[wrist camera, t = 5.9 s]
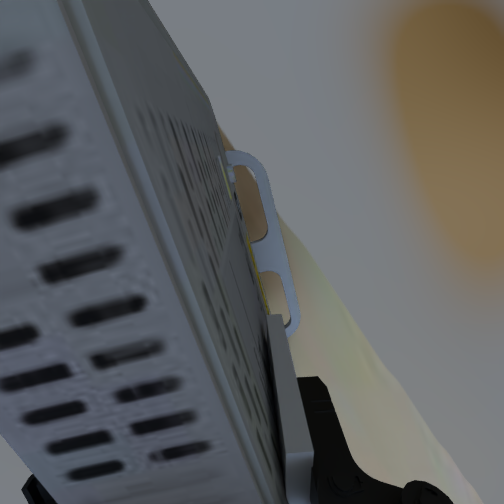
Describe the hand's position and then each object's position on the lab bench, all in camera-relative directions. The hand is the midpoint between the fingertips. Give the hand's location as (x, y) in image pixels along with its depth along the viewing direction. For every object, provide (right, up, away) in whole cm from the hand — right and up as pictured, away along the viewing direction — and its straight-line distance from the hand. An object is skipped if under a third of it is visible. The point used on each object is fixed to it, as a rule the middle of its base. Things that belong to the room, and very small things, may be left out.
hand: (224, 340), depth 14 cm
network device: (0, +4, +11) cm, 12 cm away
